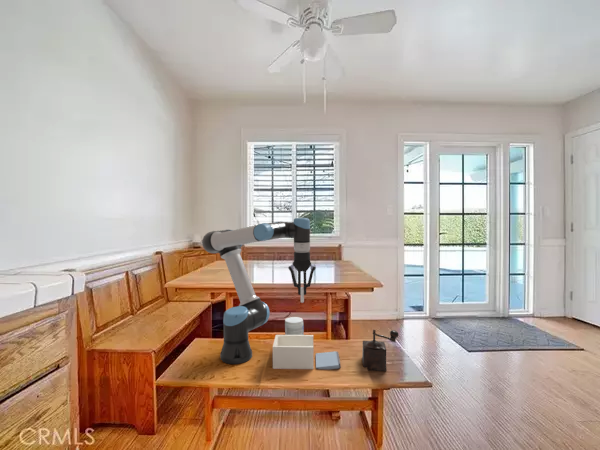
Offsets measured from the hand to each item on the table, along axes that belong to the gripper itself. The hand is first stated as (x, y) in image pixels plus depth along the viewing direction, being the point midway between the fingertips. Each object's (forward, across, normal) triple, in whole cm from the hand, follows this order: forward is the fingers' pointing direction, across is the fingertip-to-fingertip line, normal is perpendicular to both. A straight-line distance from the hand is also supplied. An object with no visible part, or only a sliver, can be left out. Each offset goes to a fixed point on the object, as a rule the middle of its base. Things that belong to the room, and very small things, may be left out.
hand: (302, 301), depth 155 cm
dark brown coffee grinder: (+29, +35, -4) cm, 46 cm away
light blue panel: (+27, +6, -3) cm, 28 cm away
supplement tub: (+29, -4, +15) cm, 33 cm away
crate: (+28, -4, -3) cm, 29 cm away
